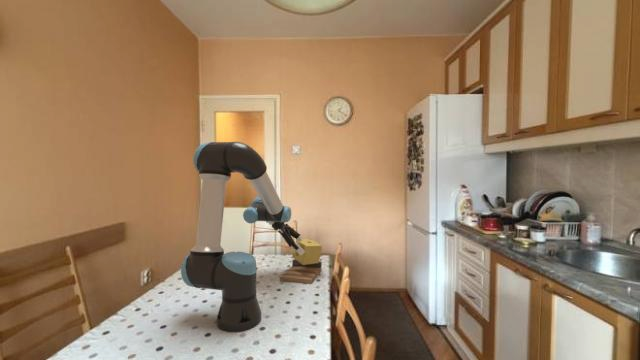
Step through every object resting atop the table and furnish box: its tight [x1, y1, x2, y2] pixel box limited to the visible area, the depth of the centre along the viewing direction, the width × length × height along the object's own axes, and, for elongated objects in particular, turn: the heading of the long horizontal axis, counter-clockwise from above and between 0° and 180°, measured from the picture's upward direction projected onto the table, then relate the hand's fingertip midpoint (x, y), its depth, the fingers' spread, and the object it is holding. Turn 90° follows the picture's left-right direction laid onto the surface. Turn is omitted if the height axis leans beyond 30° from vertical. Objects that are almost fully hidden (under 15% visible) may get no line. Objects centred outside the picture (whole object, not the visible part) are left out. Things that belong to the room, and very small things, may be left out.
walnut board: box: [279, 258, 323, 285], centre depth 149 cm, size 20×16×5 cm
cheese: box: [291, 238, 323, 265], centre depth 150 cm, size 10×11×10 cm
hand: (304, 250), depth 149 cm, fingers closed on cheese, 13 cm apart
